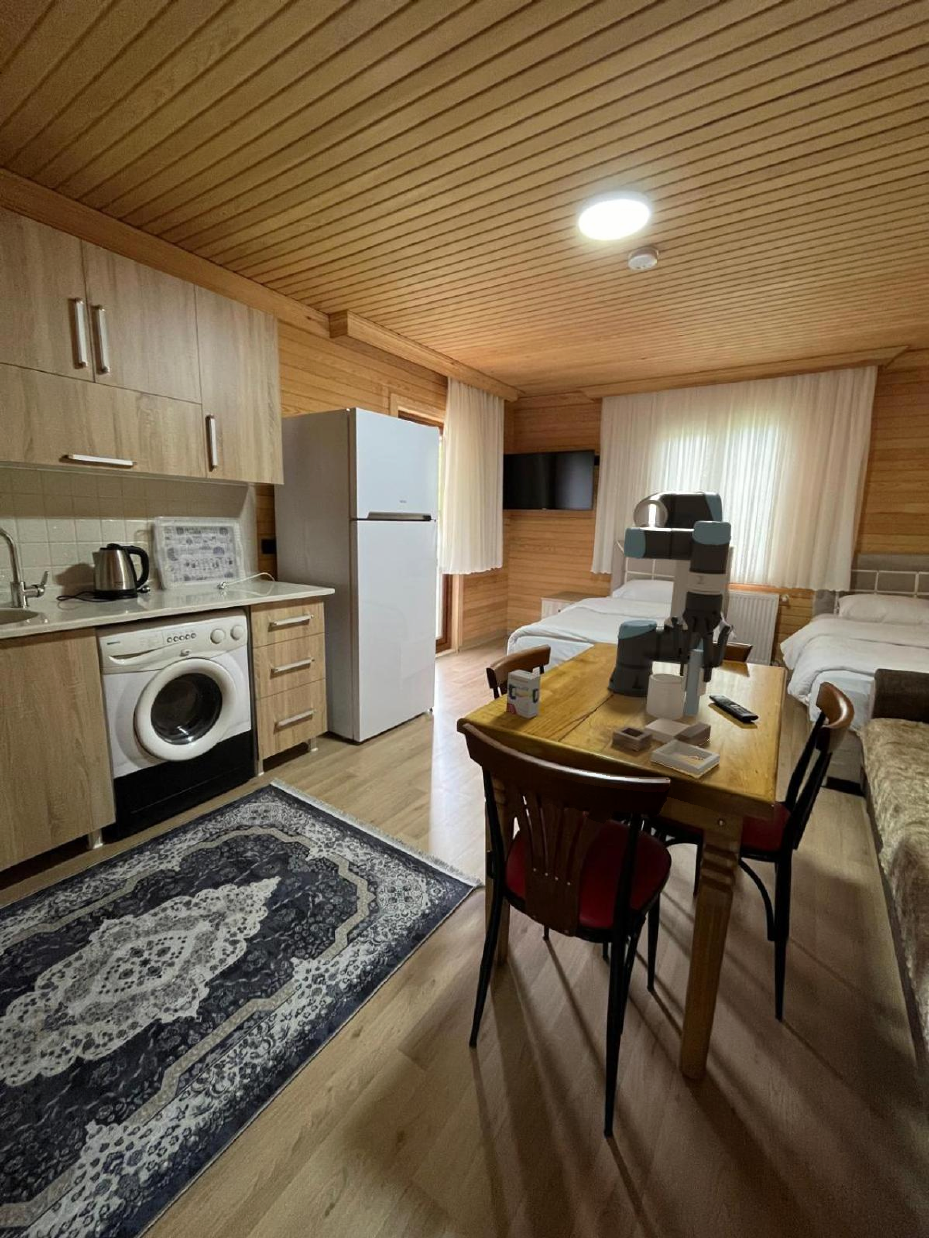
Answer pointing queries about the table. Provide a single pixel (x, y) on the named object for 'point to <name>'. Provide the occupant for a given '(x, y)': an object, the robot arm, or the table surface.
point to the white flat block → (665, 729)
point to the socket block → (632, 737)
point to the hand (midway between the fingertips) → (693, 692)
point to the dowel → (693, 682)
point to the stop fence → (695, 734)
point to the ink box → (523, 693)
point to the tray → (678, 748)
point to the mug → (665, 696)
